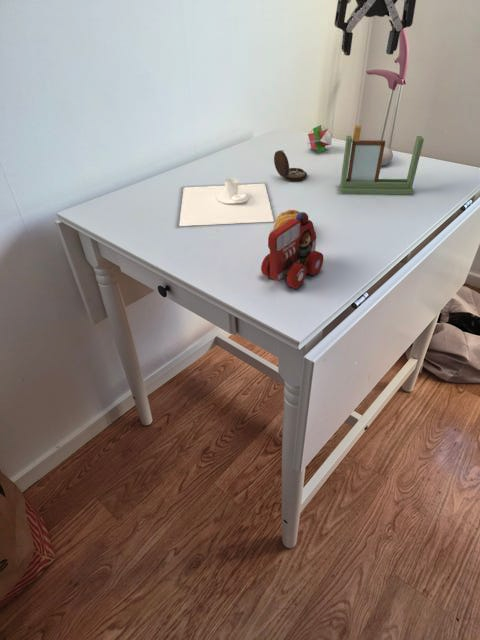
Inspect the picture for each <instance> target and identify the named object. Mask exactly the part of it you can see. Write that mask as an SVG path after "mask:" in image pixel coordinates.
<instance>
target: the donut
mask: <svg viewBox="0 0 480 640" xmlns="http://www.w3.org/2000/svg"><path fill="white" fill-rule="evenodd" d="M393 158H394V152H393V150H392V149H391V148H390V147H388V146H386V145H385V147H384V152H383V157H382V163H381V167H382V166H386V165H388V164H390V162H391V161H393Z"/></svg>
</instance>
